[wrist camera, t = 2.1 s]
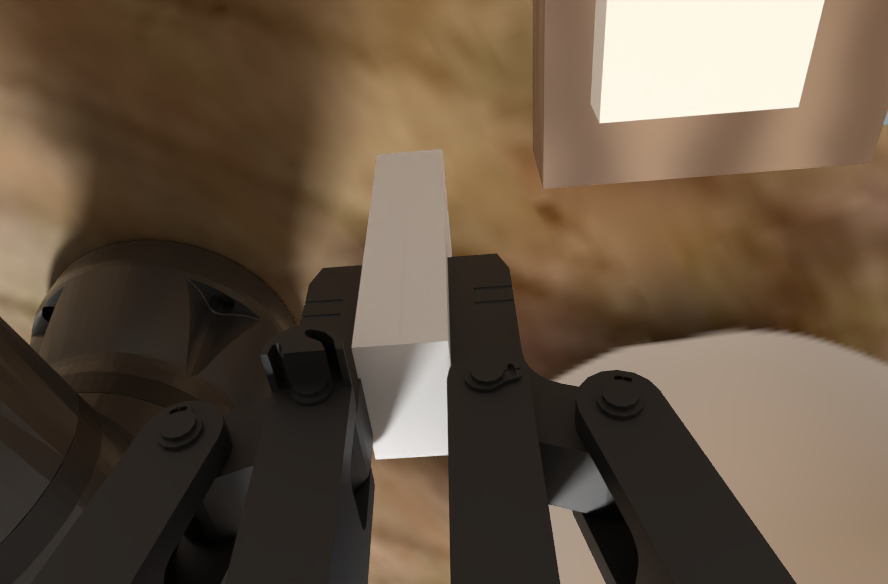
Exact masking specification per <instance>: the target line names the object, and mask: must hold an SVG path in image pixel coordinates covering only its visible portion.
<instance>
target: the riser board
mask: <svg viewBox="0 0 888 584" xmlns="http://www.w3.org/2000/svg"><path fill="white" fill-rule="evenodd" d="M595 8H596V0H533V151H534V155H535V159H536V163H537V167H538V171H539V174H540V178H541V182H542V186H543V189H548V188H560V187H573V186H586V185H599V184H611V183H624V182H637V181H650V180H663V179H675V178H688V177H701V176H714V175H726V174H739V173H752V172H765V171H778V170H790V169H803V168H816V167H829V166H841V165H854V164H867V163H871V160H872V157H873V154H874V151H875V148H876V145H877V142H878V139H879V135H880V132H881V129H882V126H883V123H884V120H885V117H886V114H887V111H888V0H825V1H824V5H823V9H822V13H821V17H820V21H819V25H818V29H817V33H816V38H815V42H814V46H813V50H812V54H811V58H810V62H809V66H808V70H807V74H806V78H805V82H804V86H803V91H802V95H801V99H800V103H799V107H795V108H783V109H770V110H758V111H746V112H733V113H721V114H709V115H697V116H684V117H672V118H660V119H647V120H635V121H623V122H611V123H599V121H598V119H597V117H596V115H595V113H594V110H593V108H592V106H591V85H592V65H593V46H594V27H595Z"/></svg>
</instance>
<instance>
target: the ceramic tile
mask: <svg viewBox="0 0 888 584" xmlns="http://www.w3.org/2000/svg"><path fill="white" fill-rule="evenodd" d="M824 1H825V0H596V8H595V27H594V46H593V65H592V85H591V106H592V108H593V110H594V113H595V115H596V117H597V119H598V121H599V123H611V122H623V121H635V120H647V119H660V118H672V117H684V116H697V115H709V114H721V113H733V112H746V111H758V110H770V109H783V108H795V107H799V103H800V99H801V95H802V91H803V86H804V82H805V78H806V74H807V70H808V66H809V62H810V58H811V54H812V50H813V46H814V42H815V38H816V33H817V29H818V25H819V21H820V17H821V13H822V9H823V5H824Z"/></svg>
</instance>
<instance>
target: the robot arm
mask: <svg viewBox="0 0 888 584" xmlns="http://www.w3.org/2000/svg"><path fill="white" fill-rule="evenodd" d="M305 303H306V305H304V310H303V314H302V320H301V323H300V326H296V325H295V323H294V321H293V319H292V317H291V315H290V313H289V311H288V310H287V308H286V307H285V305H284V304H283V303H282V301H281V300H280V299H279V298H278V296H277V295H276V294H275V293H274V292H273V291H272V290H271V289H270V288H269V287H268V286H267V285H266V284H265V283H263V282H262V281H261V280H260V279H259V278H257V277H256V276H255V275H253V274H252V273H251V272H249V271H248V270H246V269H245V268H243V267H241V266H239V265H238V264H236V263H234V262H232V261H230V260H228V259H226V258H224V257H222V256H220V255H217V254H215V253H212V252H209V251H207V250H204V249H200V248H197V247H193V246H190V245H185V244H180V243H175V242H167V241H156V240H139V241H127V242H121V243H115V244H111V245H107V246H104V247H101V248H98V249H96V250H93V251H91V252H89V253H87V254H85V255H83V256H81V257H80V258H78V259H77V260H75V261H74V262H73V263H72V264H70V265H69V266H68V267H67V268H66V269H65V270H64V271H63V272H62V274H61V275H60V276H59V277H58V279H57V280H56V282H55V283H54V285H53V286H52V287H51V289H50V290H49V292H48V293H47V295H46V296H45V298H44V299H43V301H42V302H41V304H40V306H39V309H38V311H37V313H36V316H35V319H34V323H33V328H32V337H31V342H30V345H29V344H28V343H27V342H26V341H25V340H24V339H23V338H21V337H20V336H19V335H18V334H17V333H16V332H15V331H14V330H13V329H12V328H11V327H10V326H9V325H8V324H7V323H6V322H5V321H4V320H3V319H2V318H1V317H0V584H368V572H369V558H370V544H371V530H372V517H373V503H374V489H375V484H374V478H373V473H372V469H371V457H372V445H373V449H374V453H375V458H376V459H392V458H408V457H424V456H439V455H448V469H449V519H450V569H451V584H560V579H559V574H558V566H557V560H556V553H555V546H554V540H553V533H552V527H551V520H550V513H549V506H548V504H549V505H554V506H558V507H562V508H566V509H570V510H572V511H573V515H574V517H575V519H576V521H577V523H578V525H579V528H580V530H581V532H582V534H583V536H584V538H585V540H586V542H587V545H588V547H589V549H590V551H591V553H592V555H593V557H594V559H595V561H596V563H597V566H598V568H599V570H600V572H601V574H602V576H603V578H604V581H605V582H606V584H796V582H795V581H794V579H793V578H792V577H791V575H790V574H789V572H788V571H787V570H786V568H785V567H784V566H783V564H782V563H781V561H780V560H779V558H778V557H777V555H776V554H775V553H774V551H773V550H772V548H771V547H770V546H769V544H768V543H767V542H766V540H765V539H764V537H763V536H762V534H761V533H760V531H759V530H758V529H757V527H756V526H755V525H754V523H753V521H752V520H751V519H750V517H749V516H748V514H747V513H746V512H745V510H744V509H743V507H742V506H741V505H740V503H739V502H738V500H737V499H736V497H735V496H734V495H733V493H732V492H731V490H730V489H729V488H728V486H727V485H726V483H725V482H724V480H723V479H722V478H721V476H720V475H719V473H718V472H717V471H716V469H715V468H714V467H713V465H712V463H711V462H710V461H709V459H708V458H707V456H706V455H705V454H704V452H703V451H702V450H701V448H700V446H699V445H698V444H697V442H696V441H695V439H694V438H693V437H692V435H691V434H690V432H689V431H688V430H687V428H686V427H685V426H684V424H683V422H682V421H681V420H680V418H679V417H678V415H677V414H676V413H675V411H674V410H673V408H672V407H671V406H670V404H669V403H668V401H667V400H666V398H665V397H664V396H663V394H662V393H661V391H660V390H659V389H658V388H657V387H656V386H655V385H654V384H653V383H652V382H650V381H649V380H648V379H646V378H644V377H642V376H640V375H637V374H635V373H632V372H625V371H620V370H613V371H603V372H599V373H597V374H595V375H593V376H590V377H588V378H587V379H586V380H585V381H584V382H583V383H582V384H581V385H580V386H579V387H577V386H572V385H566V384H561V383H558V382H554V381H550V380H548V379H546V378H544V377H542V376H540V375H538V374H537V373H536V372H534V371H533V370H532V369H531V368H530V367H529V366H528V364H527V363H526V362H525V360H524V357H523V354H522V349H521V343H520V336H519V329H518V323H517V316H516V310H515V303H514V296H513V290H512V283H511V276H510V270H509V267H508V266H507V265H506V264H505V263H504V261H503V260H502V259H501V258H500V257H499V256H498V255H497V254H485V255H472V256H458V257H452V253H451V239H450V227H449V216H448V205H447V193H446V182H445V171H444V160H443V149H438V150H425V151H413V152H400V153H388V154H377V160H376V167H375V175H374V182H373V190H372V197H371V205H370V212H369V220H368V227H367V235H366V242H365V250H364V257H363V265H359V266H346V267H332V268H323V269H322V270H321V271H320V272H319V273H318V275H317V276H316V277H315V278H314V279H313V281H312V282H311V283H310V284H309V288H308V292H307V297H306V301H305Z"/></svg>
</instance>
